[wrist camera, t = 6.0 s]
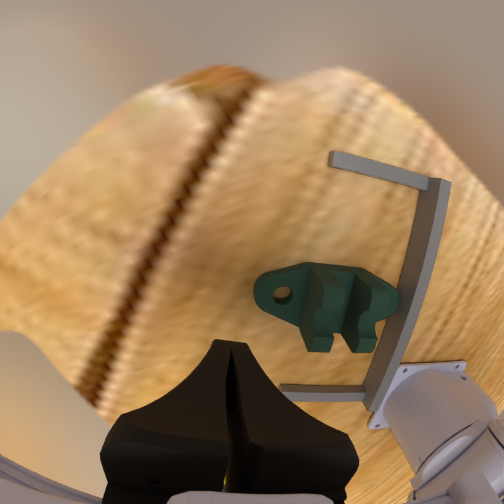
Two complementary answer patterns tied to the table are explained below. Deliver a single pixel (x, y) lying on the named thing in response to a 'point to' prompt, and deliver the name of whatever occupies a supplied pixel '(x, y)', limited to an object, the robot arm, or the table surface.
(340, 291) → the mount
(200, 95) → the table surface
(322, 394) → the u-shaped gray bracket
